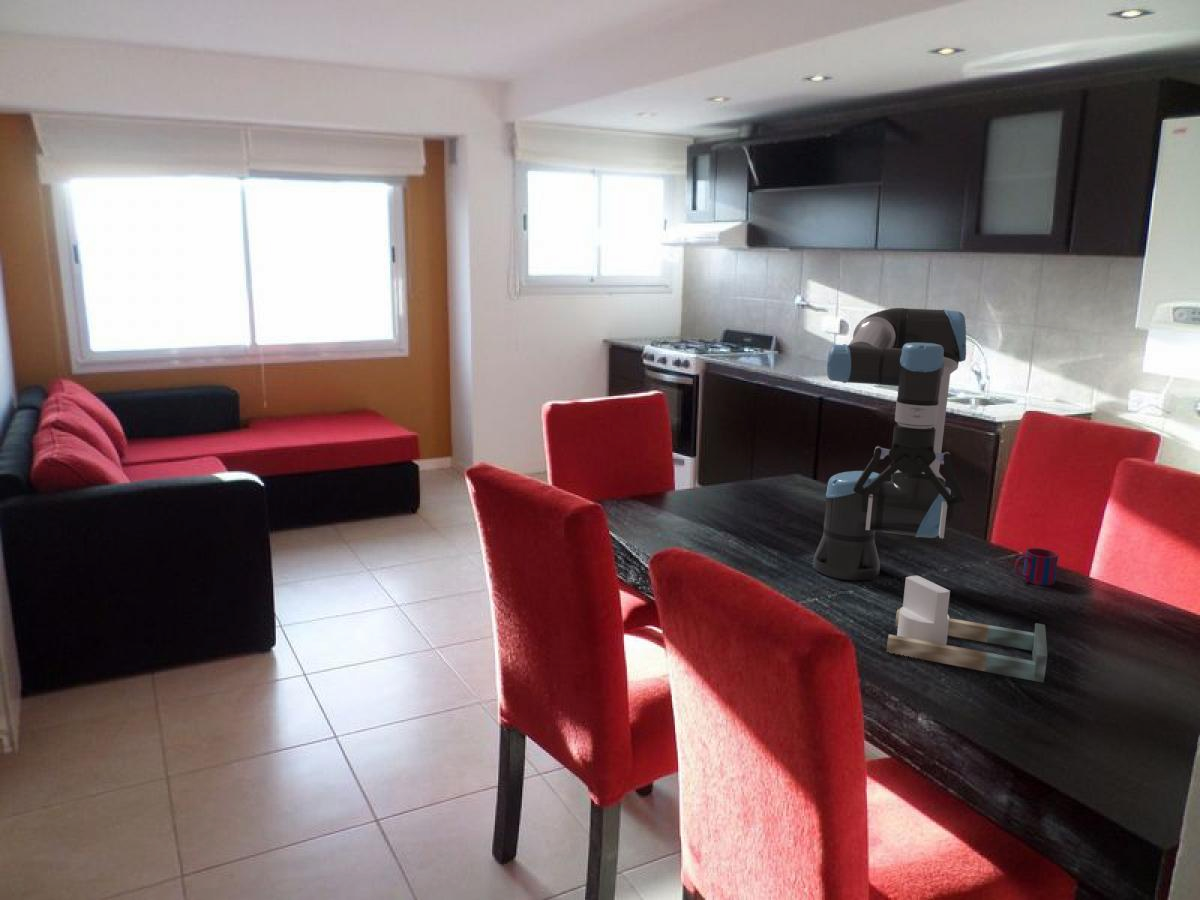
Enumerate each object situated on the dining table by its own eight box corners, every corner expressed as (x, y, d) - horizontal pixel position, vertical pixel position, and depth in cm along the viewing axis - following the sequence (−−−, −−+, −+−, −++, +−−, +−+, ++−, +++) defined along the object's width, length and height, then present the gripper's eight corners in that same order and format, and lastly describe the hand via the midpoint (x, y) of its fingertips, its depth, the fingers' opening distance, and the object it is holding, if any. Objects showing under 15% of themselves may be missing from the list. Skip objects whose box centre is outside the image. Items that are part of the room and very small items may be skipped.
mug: (1060, 585, 206) (1064, 557, 204) (1020, 586, 204) (1023, 558, 203) (1042, 575, 212) (1046, 547, 210) (1003, 576, 211) (1006, 548, 209)
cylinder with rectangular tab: (886, 637, 175) (892, 578, 173) (922, 630, 179) (928, 573, 176) (919, 656, 167) (926, 595, 165) (956, 648, 171) (963, 589, 168)
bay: (886, 652, 169) (889, 627, 168) (896, 623, 182) (898, 599, 181) (1043, 682, 158) (1047, 656, 157) (1041, 649, 172) (1044, 624, 170)
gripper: (846, 422, 171) (837, 530, 175) (988, 433, 164) (974, 545, 168) (847, 416, 178) (838, 520, 182) (983, 426, 171) (970, 534, 175)
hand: (904, 532), depth 175 cm, fingers open, 13 cm apart
